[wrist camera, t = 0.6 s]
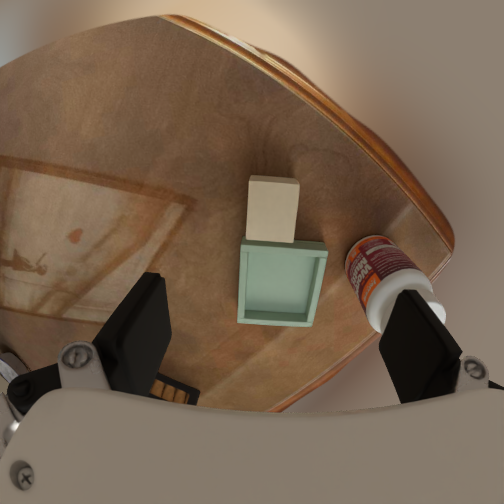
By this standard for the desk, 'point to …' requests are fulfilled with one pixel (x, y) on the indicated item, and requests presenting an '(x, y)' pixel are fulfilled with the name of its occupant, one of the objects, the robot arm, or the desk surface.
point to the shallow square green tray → (280, 282)
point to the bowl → (11, 366)
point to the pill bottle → (385, 279)
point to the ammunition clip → (173, 391)
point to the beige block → (272, 208)
